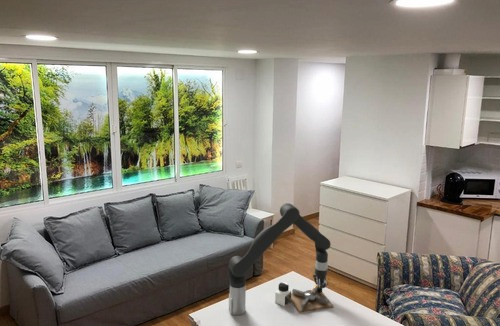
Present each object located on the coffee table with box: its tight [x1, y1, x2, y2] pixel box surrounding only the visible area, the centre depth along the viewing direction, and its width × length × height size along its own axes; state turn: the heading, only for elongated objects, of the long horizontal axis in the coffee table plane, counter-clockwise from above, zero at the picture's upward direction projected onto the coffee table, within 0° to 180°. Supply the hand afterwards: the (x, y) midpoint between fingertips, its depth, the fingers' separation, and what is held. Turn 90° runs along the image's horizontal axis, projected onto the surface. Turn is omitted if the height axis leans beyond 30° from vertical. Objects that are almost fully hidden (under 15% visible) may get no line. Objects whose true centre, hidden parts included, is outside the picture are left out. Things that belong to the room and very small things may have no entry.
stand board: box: [290, 291, 334, 314], centre depth 234 cm, size 22×18×2 cm
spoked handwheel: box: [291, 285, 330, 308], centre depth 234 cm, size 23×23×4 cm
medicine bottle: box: [274, 281, 292, 307], centre depth 233 cm, size 7×7×12 cm
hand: (319, 292), depth 240 cm, fingers closed
